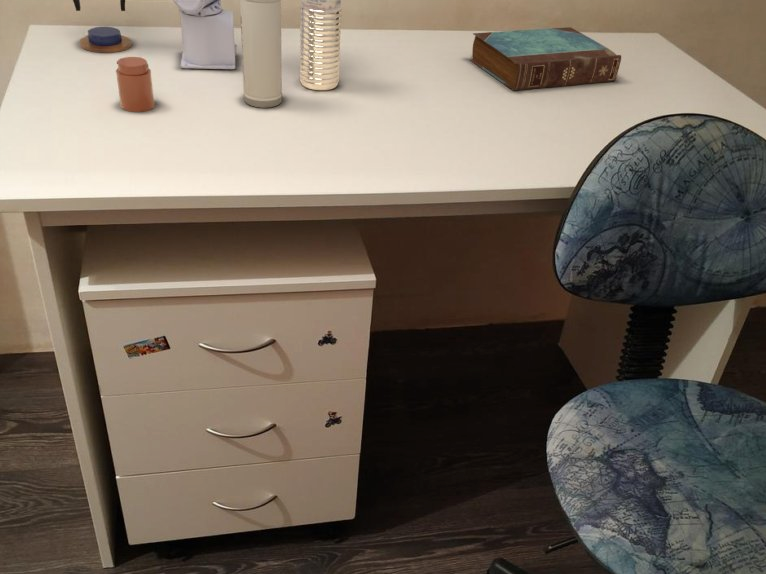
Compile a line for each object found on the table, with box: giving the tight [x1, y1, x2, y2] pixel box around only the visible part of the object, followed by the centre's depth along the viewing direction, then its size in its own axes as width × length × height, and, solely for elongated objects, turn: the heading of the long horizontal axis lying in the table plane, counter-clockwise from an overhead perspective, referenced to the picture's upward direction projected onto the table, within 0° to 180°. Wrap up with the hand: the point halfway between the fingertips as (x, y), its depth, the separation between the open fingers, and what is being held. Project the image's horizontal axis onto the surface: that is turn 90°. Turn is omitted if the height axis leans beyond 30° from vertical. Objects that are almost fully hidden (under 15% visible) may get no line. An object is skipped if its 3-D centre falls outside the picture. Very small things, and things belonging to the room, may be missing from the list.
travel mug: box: [239, 0, 283, 109], centre depth 127 cm, size 6×7×20 cm
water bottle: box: [299, 0, 342, 91], centre depth 133 cm, size 7×7×25 cm
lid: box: [87, 26, 122, 46], centre depth 148 cm, size 6×6×2 cm
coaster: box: [79, 34, 132, 54], centre depth 148 cm, size 9×9×1 cm
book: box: [469, 26, 622, 92], centre depth 154 cm, size 23×18×5 cm
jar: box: [115, 56, 156, 113], centre depth 126 cm, size 5×5×7 cm
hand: (100, 9), depth 145 cm, fingers open, 7 cm apart
